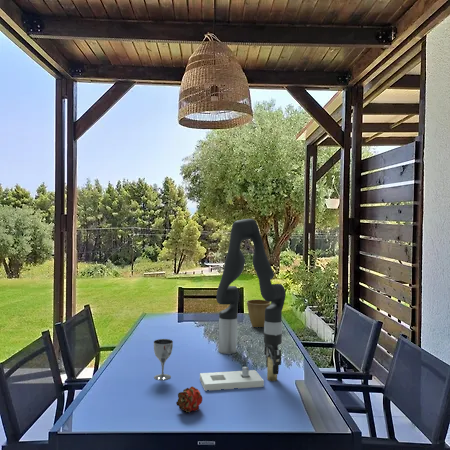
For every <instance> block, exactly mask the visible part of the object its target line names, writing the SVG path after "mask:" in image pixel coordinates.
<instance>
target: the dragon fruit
mask: <svg viewBox="0 0 450 450" xmlns="http://www.w3.org/2000/svg"><path fill="white" fill-rule="evenodd" d="M202 402H203V396H202V394H201V392H200V390H199V389H198V388H196V387H194V386H190V387H187V388H185V389H183V391H180V392H178V393H177V401H176V402H175V403H176V406H178V408H179V409H180V410H183V412H184V411H186V412H185V413H187V412H190V413H191V412H192V411H194V412H197V411H199V410H200V405H201V404H202ZM196 410H197V411H196Z"/></svg>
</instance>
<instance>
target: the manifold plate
mask: <svg viewBox="0 0 450 450" xmlns="http://www.w3.org/2000/svg"><path fill="white" fill-rule="evenodd" d="M199 381H200V383H201V386H202V388H203V389H204V391H205V392H206V391H207V390H209V391H222V390H221V389H224V390H235V389H234V388H238V389H249V388H262V387H264V386H265V380H264V379H263V378H262V377H261V375H260V374H259V373H258V371H256V370H255V369H249V377H248V378H242V370H235V371H234V370H233V371H217V372H200V373H199ZM264 388H265V387H264ZM207 392H208V391H207Z"/></svg>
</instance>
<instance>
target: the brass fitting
mask: <svg viewBox="0 0 450 450" xmlns="http://www.w3.org/2000/svg"><path fill="white" fill-rule="evenodd" d="M276 362H277V360H276ZM266 367H267V368H266V369H267V371H266V372H267V373H266V374H267V375H266V380H267V381H269V382H276V381H278V374H273V361H272V360H271V357H268V362H267V366H266Z"/></svg>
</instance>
